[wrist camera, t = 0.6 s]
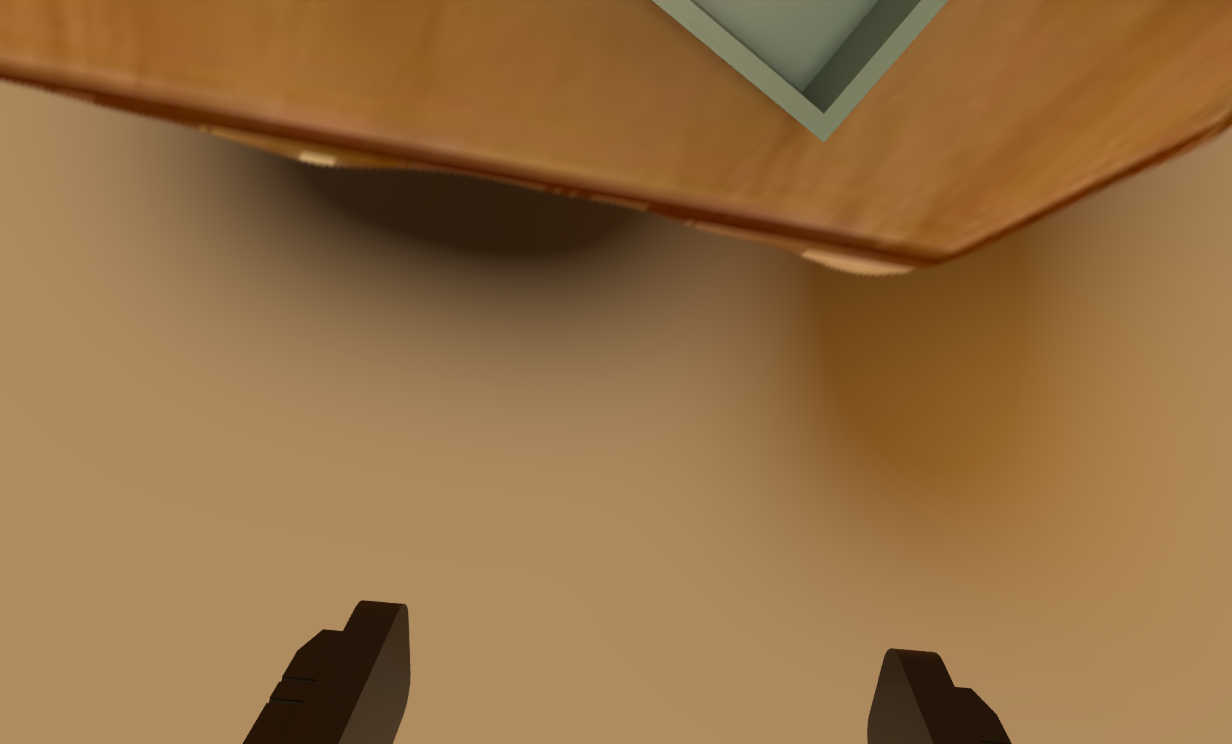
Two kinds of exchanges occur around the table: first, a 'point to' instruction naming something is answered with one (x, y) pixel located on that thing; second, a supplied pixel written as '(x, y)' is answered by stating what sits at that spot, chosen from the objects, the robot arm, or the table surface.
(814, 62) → the tray
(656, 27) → the table surface
